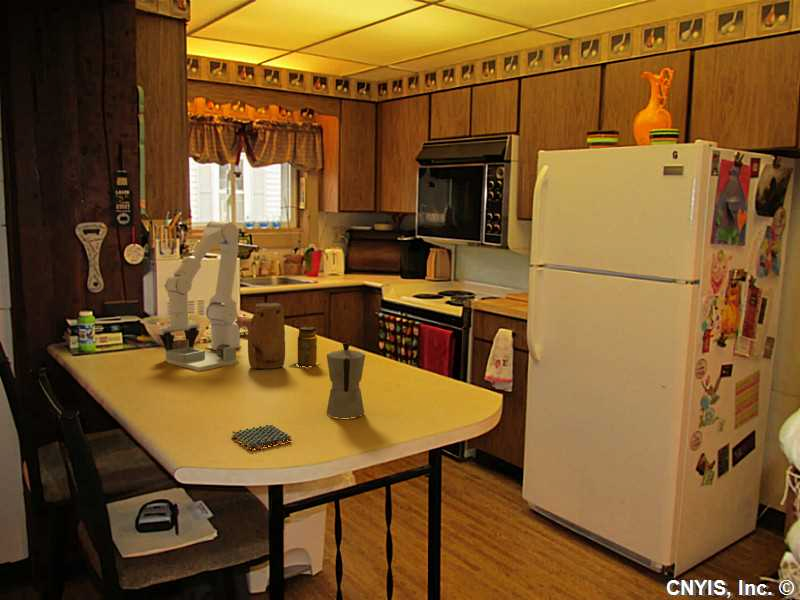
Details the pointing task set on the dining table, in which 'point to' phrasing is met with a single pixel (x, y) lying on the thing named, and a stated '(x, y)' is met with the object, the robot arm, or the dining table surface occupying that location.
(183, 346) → the walnut block
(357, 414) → the coffeepot
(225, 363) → the chassis
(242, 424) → the dining table surface
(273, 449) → the dining table surface
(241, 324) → the bull figurine
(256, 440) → the woven mat
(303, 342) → the condiment
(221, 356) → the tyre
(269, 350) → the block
